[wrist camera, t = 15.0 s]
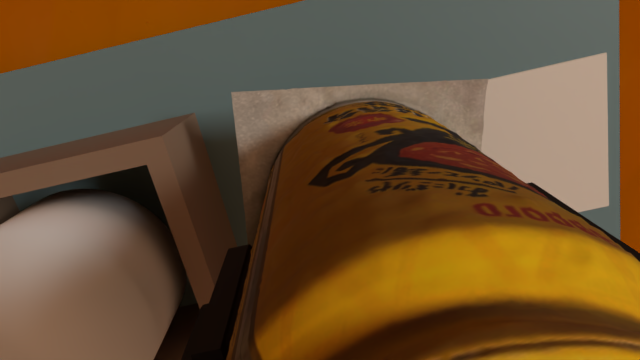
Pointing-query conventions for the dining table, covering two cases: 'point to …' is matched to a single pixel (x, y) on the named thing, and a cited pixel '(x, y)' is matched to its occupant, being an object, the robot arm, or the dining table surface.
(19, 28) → the dining table surface
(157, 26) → the dining table surface
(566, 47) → the board
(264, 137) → the condiment
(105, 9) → the dining table surface
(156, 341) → the dome
